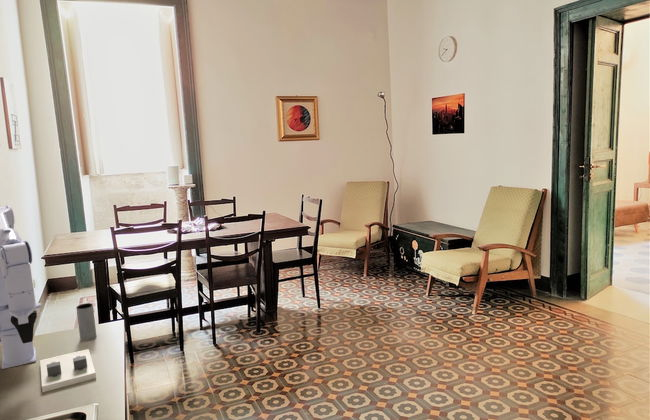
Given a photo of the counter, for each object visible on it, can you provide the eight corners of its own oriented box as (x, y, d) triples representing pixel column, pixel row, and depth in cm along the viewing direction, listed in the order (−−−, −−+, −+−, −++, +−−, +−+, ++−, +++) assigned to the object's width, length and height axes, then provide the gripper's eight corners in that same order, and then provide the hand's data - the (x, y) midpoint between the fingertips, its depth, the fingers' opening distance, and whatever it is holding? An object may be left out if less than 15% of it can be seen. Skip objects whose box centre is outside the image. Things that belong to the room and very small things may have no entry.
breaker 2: (73, 366, 127) (72, 358, 127) (86, 363, 129) (85, 355, 128) (74, 370, 125) (73, 361, 125) (87, 366, 127) (86, 358, 126)
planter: (90, 341, 146) (86, 309, 144) (76, 340, 147) (72, 308, 145) (99, 334, 150) (96, 303, 149) (86, 333, 151) (83, 302, 149)
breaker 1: (47, 373, 124) (46, 364, 124) (60, 370, 126) (59, 361, 125) (48, 376, 122) (46, 367, 122) (61, 373, 124) (60, 364, 123)
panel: (40, 365, 132) (40, 359, 132) (89, 353, 138) (88, 348, 138) (42, 392, 119) (41, 386, 118) (96, 378, 125) (95, 372, 124)
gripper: (39, 295, 117) (46, 347, 119) (38, 280, 129) (44, 328, 131) (4, 301, 113) (12, 355, 115) (6, 285, 125) (14, 334, 127)
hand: (27, 341), depth 123 cm, fingers closed
